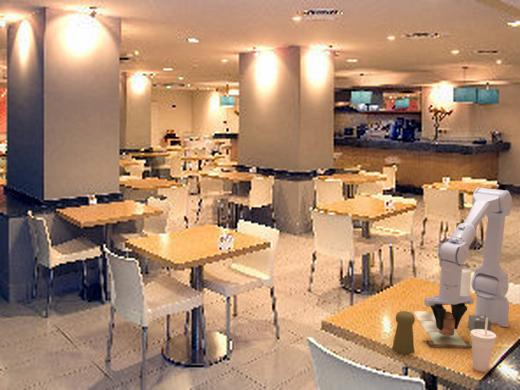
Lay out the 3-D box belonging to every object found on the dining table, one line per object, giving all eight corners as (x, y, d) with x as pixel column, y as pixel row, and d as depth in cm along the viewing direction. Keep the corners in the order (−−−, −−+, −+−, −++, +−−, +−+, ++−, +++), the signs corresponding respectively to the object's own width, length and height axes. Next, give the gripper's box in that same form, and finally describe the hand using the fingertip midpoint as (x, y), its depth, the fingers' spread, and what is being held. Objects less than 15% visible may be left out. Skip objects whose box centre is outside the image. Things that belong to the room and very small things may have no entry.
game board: (444, 314, 184) (444, 311, 184) (471, 348, 158) (472, 345, 158) (407, 313, 185) (408, 310, 185) (429, 347, 158) (429, 343, 158)
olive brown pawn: (415, 355, 152) (417, 317, 151) (392, 353, 154) (394, 315, 152) (413, 346, 158) (416, 309, 157) (391, 344, 159) (394, 307, 158)
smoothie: (491, 376, 141) (495, 324, 139) (465, 369, 144) (469, 318, 142) (495, 367, 146) (499, 316, 144) (470, 360, 150) (474, 311, 148)
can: (471, 300, 199) (474, 268, 197) (453, 300, 199) (456, 268, 197) (465, 294, 205) (467, 263, 204) (447, 294, 206) (450, 263, 204)
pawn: (449, 329, 164) (450, 308, 163) (456, 335, 160) (458, 313, 159) (436, 330, 164) (437, 309, 163) (443, 336, 160) (445, 314, 159)
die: (483, 331, 171) (485, 315, 171) (490, 337, 166) (491, 321, 166) (467, 330, 171) (469, 314, 171) (473, 336, 166) (474, 320, 166)
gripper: (465, 278, 165) (461, 321, 167) (420, 280, 162) (417, 324, 164) (479, 285, 158) (475, 331, 160) (432, 287, 155) (429, 333, 157)
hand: (446, 328), depth 162 cm, fingers closed on pawn, 4 cm apart
